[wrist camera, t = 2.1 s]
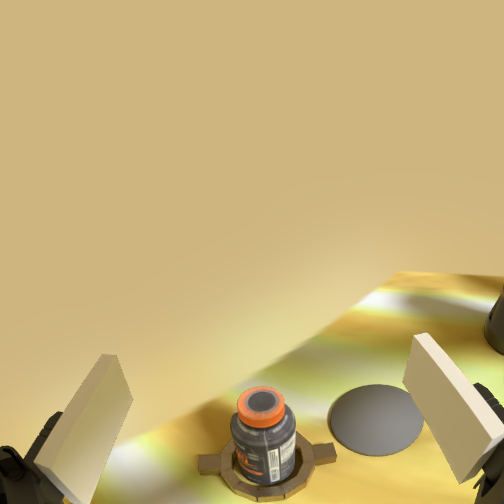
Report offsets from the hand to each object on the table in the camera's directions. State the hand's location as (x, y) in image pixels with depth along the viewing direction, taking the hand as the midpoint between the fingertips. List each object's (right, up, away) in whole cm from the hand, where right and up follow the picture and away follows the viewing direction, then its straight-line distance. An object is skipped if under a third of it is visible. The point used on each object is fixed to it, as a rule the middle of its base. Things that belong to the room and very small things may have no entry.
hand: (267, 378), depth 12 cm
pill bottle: (+1, -18, +15) cm, 23 cm away
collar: (+1, -18, +15) cm, 23 cm away
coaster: (+15, -15, +19) cm, 28 cm away
